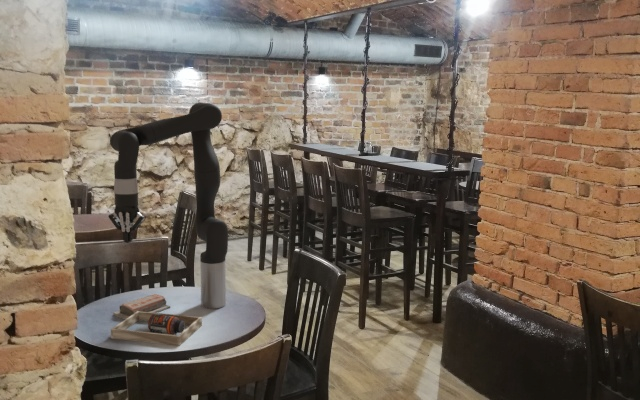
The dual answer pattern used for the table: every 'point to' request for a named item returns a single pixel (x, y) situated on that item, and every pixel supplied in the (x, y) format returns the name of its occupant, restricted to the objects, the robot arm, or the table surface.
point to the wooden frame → (124, 334)
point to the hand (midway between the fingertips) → (127, 242)
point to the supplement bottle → (165, 324)
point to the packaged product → (142, 306)
